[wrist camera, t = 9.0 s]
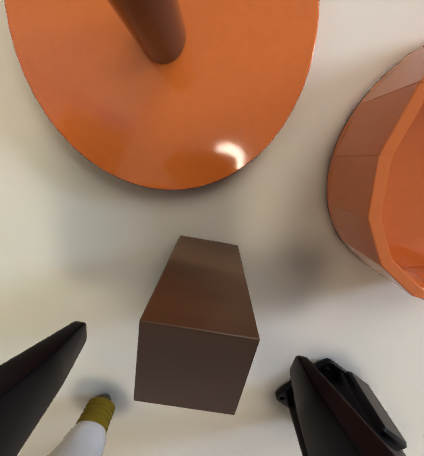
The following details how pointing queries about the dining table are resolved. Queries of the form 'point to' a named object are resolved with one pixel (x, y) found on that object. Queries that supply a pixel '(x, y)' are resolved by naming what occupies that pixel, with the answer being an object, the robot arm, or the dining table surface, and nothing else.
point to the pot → (384, 177)
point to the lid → (166, 80)
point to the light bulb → (88, 430)
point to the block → (197, 330)
